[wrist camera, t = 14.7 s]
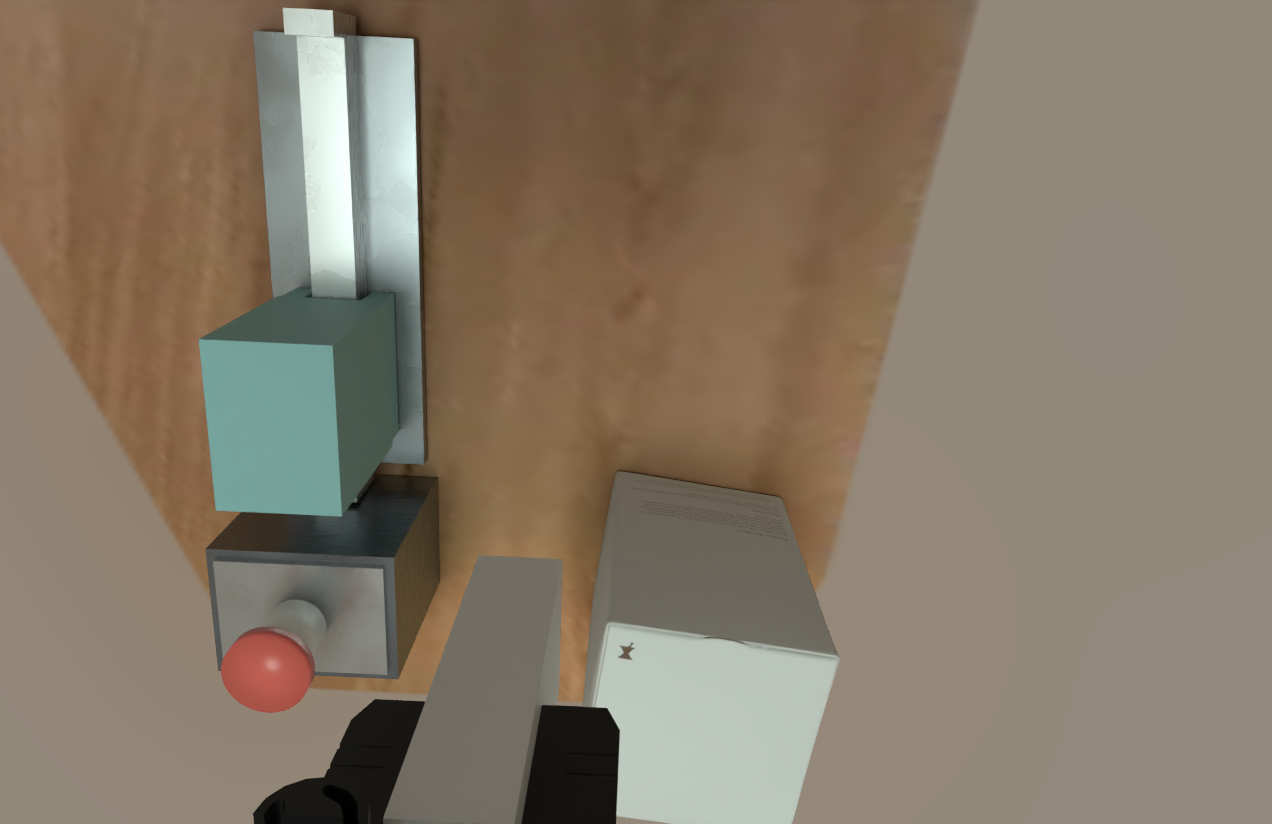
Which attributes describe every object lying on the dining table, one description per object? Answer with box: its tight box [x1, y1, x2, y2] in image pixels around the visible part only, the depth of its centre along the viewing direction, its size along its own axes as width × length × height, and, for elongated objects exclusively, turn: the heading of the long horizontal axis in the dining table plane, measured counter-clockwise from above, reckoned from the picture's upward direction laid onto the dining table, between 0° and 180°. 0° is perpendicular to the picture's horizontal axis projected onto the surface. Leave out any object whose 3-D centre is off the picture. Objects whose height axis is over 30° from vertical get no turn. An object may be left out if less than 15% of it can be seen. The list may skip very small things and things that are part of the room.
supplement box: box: [583, 471, 840, 824], centre depth 44 cm, size 9×9×15 cm
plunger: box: [221, 600, 326, 713], centre depth 39 cm, size 3×3×4 cm
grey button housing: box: [206, 474, 440, 679], centre depth 46 cm, size 6×8×9 cm
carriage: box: [199, 288, 399, 516], centre depth 42 cm, size 7×5×10 cm
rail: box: [253, 8, 428, 503], centre depth 44 cm, size 22×7×4 cm, turn 177°
